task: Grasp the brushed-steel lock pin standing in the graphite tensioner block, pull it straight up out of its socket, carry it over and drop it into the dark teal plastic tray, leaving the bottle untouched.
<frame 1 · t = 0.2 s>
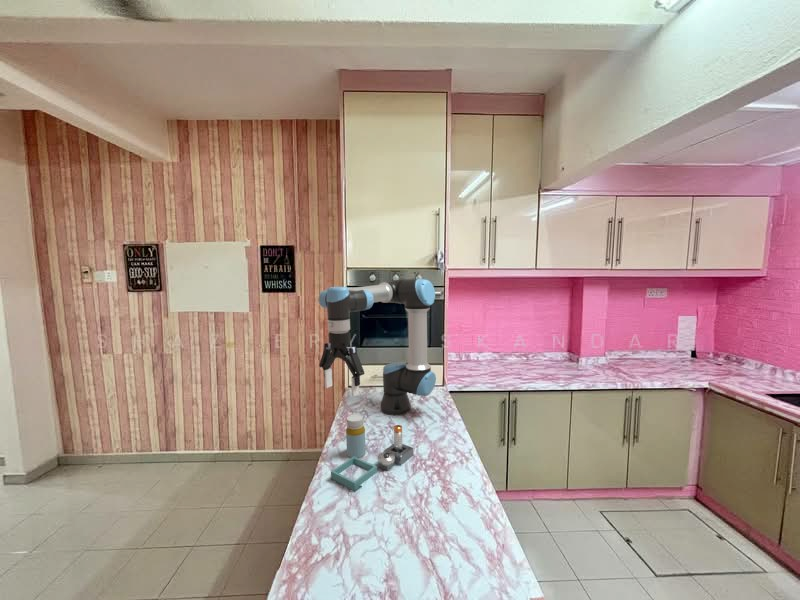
hand: (341, 390, 121), 28 cm above the counter, fingers open, 13 cm apart
tray: (354, 477, 116), on the counter
tensioner: (398, 459, 126), on the counter
pin: (398, 457, 126), point 1 cm above the counter, touching tensioner
bottle: (356, 456, 129), on the counter
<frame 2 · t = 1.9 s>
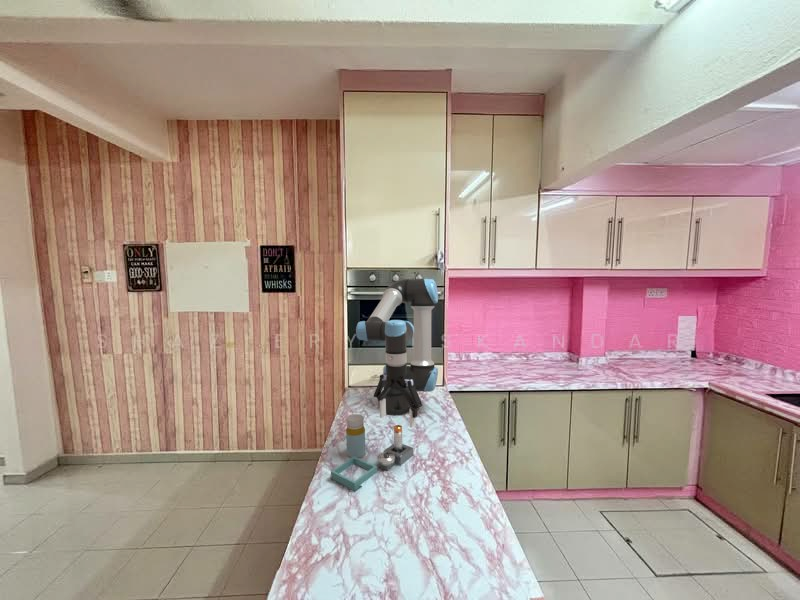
hand: (397, 421, 124), 15 cm above the counter, fingers open, 13 cm apart
nothing on the counter moved.
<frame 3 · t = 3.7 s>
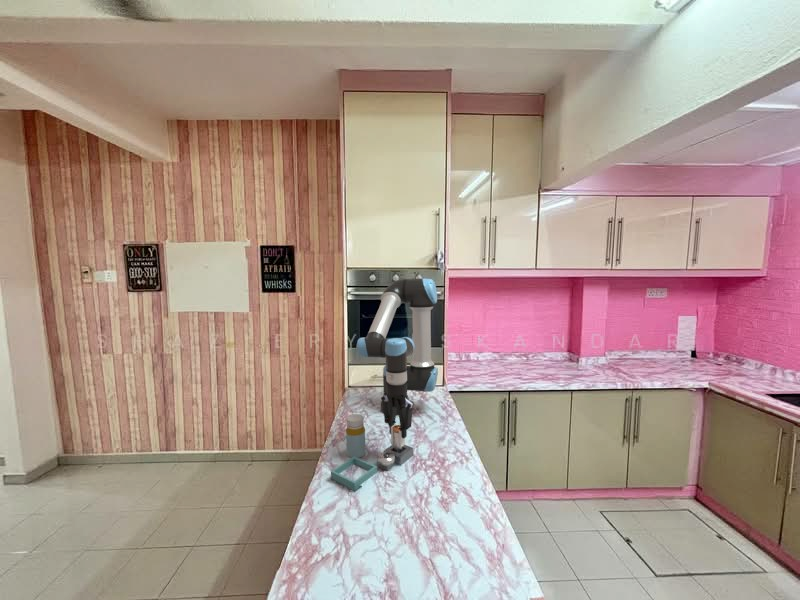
hand: (398, 443, 125), 6 cm above the counter, fingers closed on pin, 3 cm apart
pin: (398, 457, 126), point 1 cm above the counter, touching gripper, tensioner
everything else where it was.
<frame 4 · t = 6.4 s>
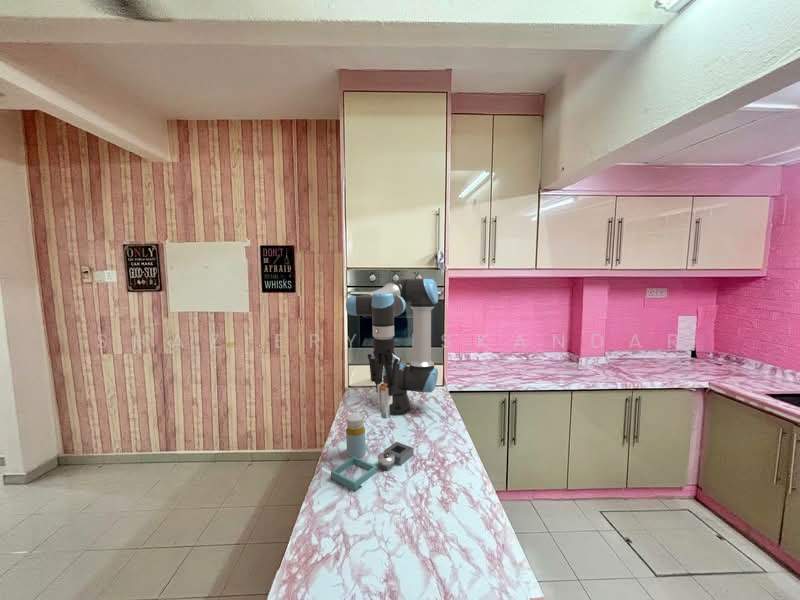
hand: (385, 402, 120), 23 cm above the counter, fingers closed on pin, 3 cm apart
pin: (385, 416, 121), point 18 cm above the counter, touching gripper
everything else where it was.
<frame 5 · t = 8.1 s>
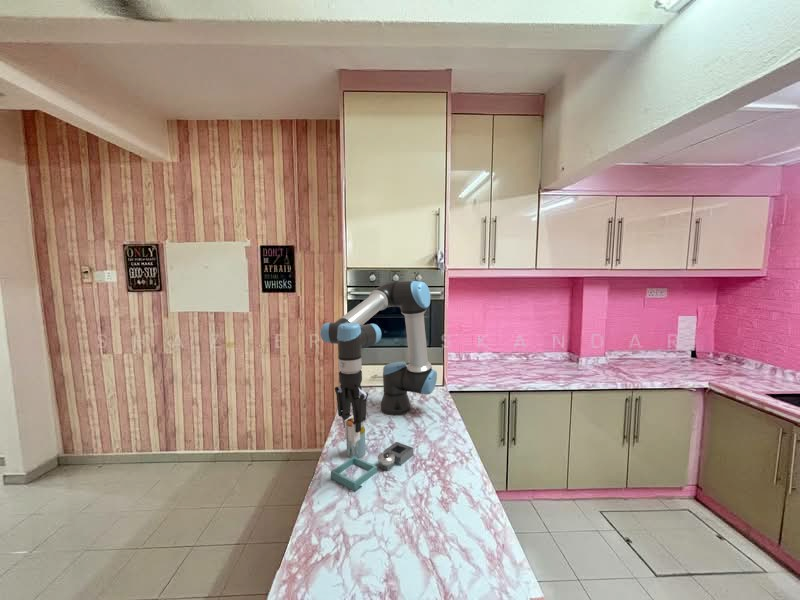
hand: (352, 438, 114), 14 cm above the counter, fingers closed on pin, 3 cm apart
pin: (352, 453, 115), point 9 cm above the counter, touching gripper
everything else where it was.
when the fingers open (7 cm above the counter, at t = 9.4 s): pin drops 1 cm, resting on tray.
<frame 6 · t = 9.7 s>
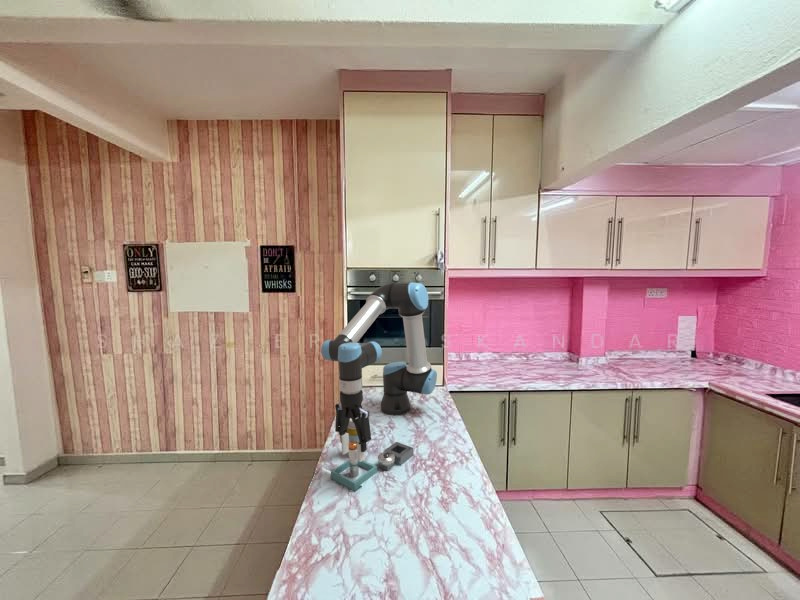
hand: (353, 456, 115), 8 cm above the counter, fingers open, 7 cm apart
pin: (354, 475, 116), point 1 cm above the counter, touching tray
everything else where it was.
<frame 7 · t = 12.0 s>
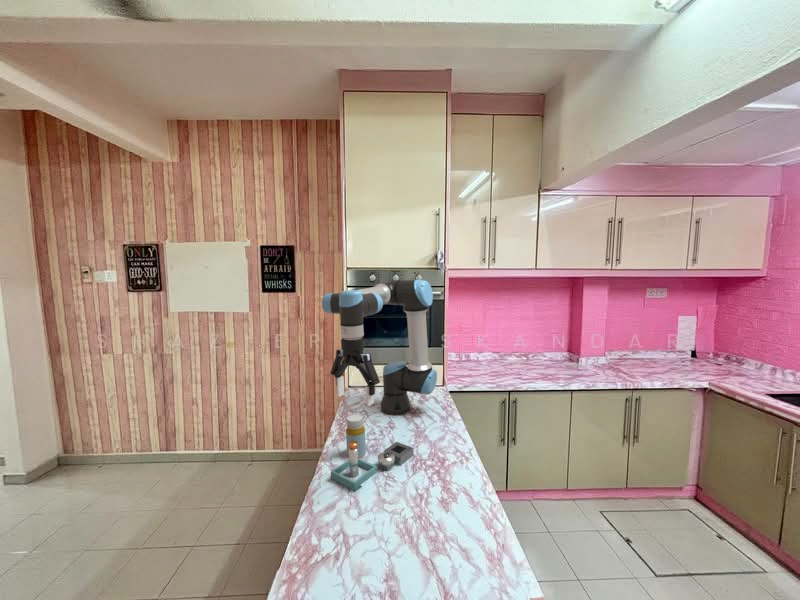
hand: (355, 399, 115), 27 cm above the counter, fingers open, 13 cm apart
nothing on the counter moved.
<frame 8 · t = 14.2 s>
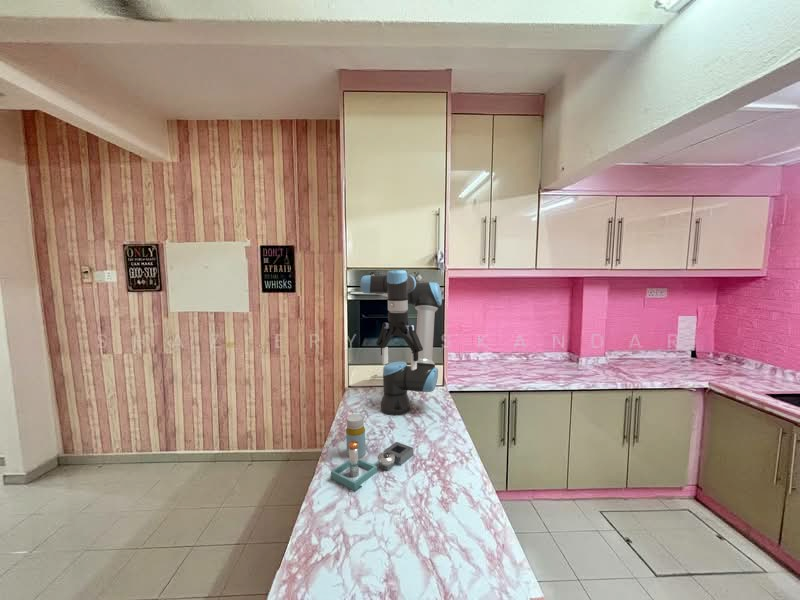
hand: (399, 366, 131), 33 cm above the counter, fingers open, 13 cm apart
nothing on the counter moved.
at the end: pin inside the target area on the tray (0.0 cm from its centre), point 0.6 cm above the tray's base; the gripper is holding nothing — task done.
